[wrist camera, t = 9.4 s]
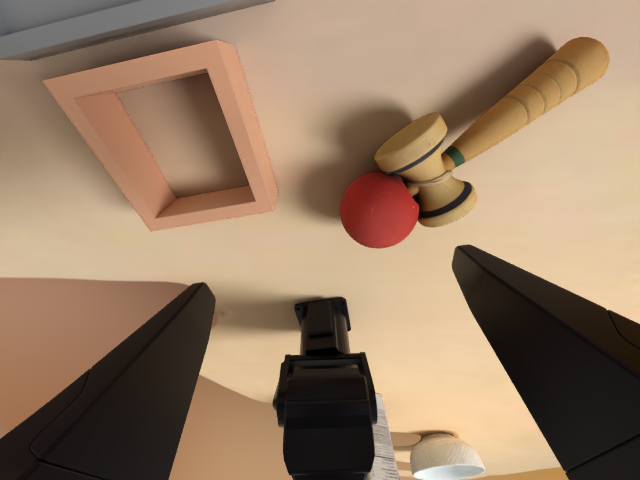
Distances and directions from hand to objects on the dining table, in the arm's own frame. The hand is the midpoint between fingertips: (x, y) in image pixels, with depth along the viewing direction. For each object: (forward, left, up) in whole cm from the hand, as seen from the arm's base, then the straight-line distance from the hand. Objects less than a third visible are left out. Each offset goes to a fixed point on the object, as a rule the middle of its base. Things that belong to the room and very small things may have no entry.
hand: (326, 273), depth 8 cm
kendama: (-1, -9, -13) cm, 16 cm away
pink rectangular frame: (+3, +9, -13) cm, 16 cm away
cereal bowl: (-78, -18, -13) cm, 81 cm away
